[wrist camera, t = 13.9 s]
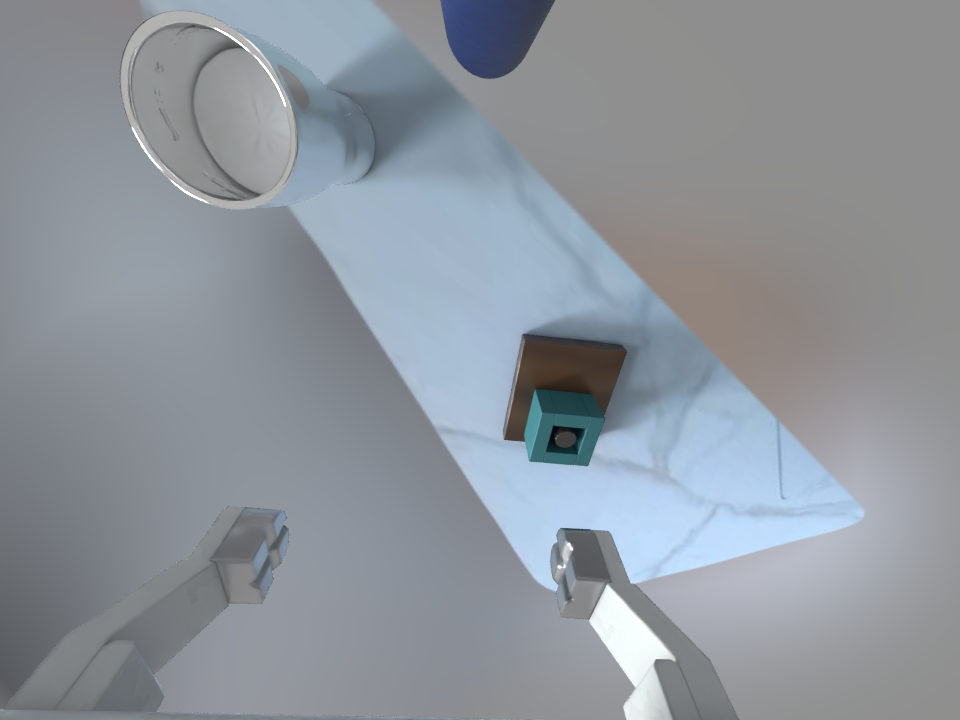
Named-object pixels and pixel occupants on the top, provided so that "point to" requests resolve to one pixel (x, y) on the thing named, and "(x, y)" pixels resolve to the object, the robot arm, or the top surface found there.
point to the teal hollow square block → (566, 413)
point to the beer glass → (237, 115)
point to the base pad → (560, 378)
